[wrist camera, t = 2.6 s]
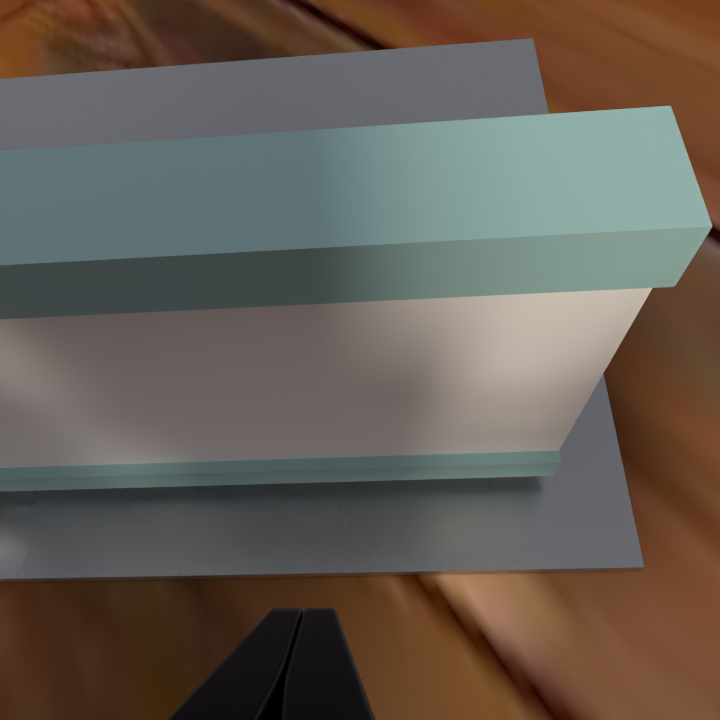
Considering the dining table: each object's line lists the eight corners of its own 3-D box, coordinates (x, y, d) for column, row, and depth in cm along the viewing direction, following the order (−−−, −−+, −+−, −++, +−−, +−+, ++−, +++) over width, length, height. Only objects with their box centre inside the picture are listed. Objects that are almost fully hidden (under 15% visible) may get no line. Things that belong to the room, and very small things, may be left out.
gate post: (-259, 587, 17) (-1325, 415, 7) (-42, 92, 27) (-341, -301, 16) (638, 570, 16) (1099, 308, 5) (530, 50, 25) (613, -421, 14)
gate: (-81, 500, 17) (-620, 289, 8) (-58, 431, 18) (-518, 175, 9) (551, 482, 16) (719, 214, 7) (540, 409, 17) (676, 91, 8)
